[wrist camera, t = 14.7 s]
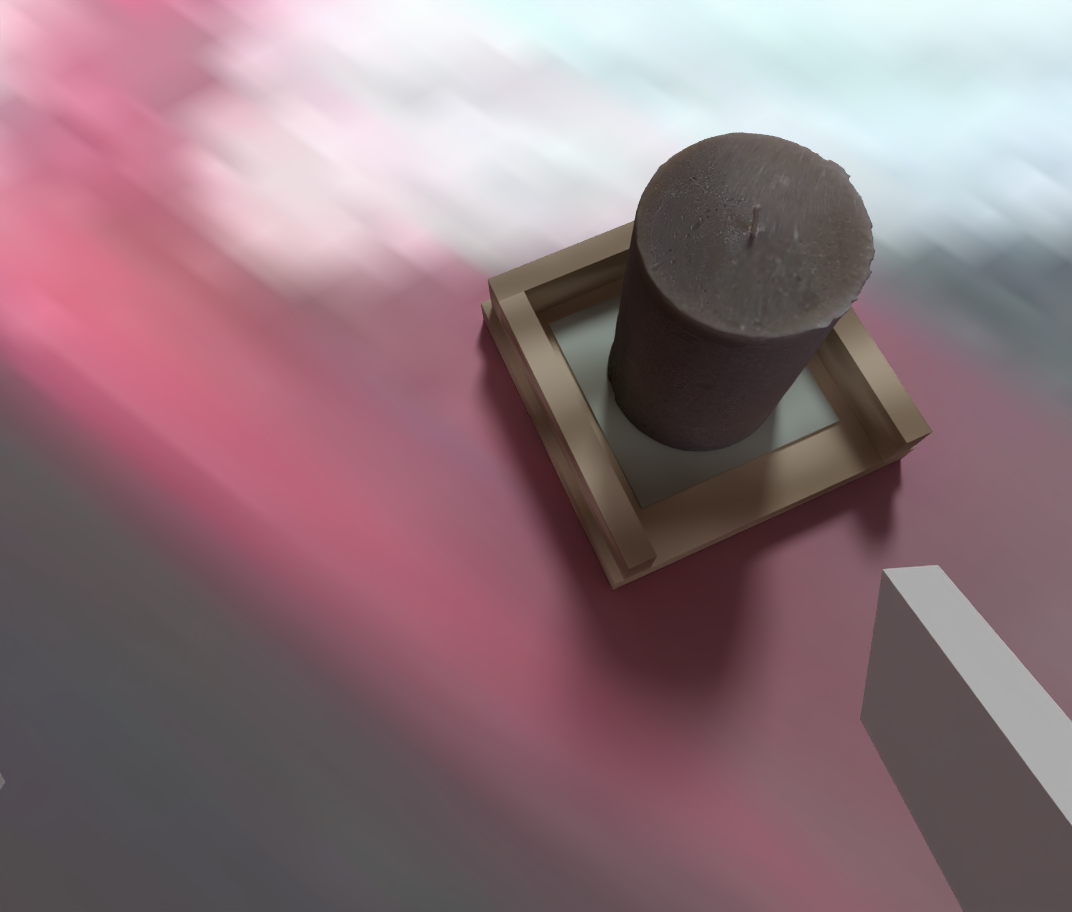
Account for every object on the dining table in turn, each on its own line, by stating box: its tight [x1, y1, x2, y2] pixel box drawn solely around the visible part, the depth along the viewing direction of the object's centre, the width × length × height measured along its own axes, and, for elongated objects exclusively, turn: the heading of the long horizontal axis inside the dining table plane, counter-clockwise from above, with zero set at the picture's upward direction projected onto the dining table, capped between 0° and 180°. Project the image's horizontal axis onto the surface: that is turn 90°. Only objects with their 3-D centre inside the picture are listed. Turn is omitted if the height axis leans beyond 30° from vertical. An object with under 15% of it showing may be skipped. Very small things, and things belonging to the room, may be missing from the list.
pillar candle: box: [607, 132, 875, 451], centre depth 38 cm, size 10×10×15 cm
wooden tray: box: [481, 221, 933, 590], centre depth 45 cm, size 18×18×5 cm
